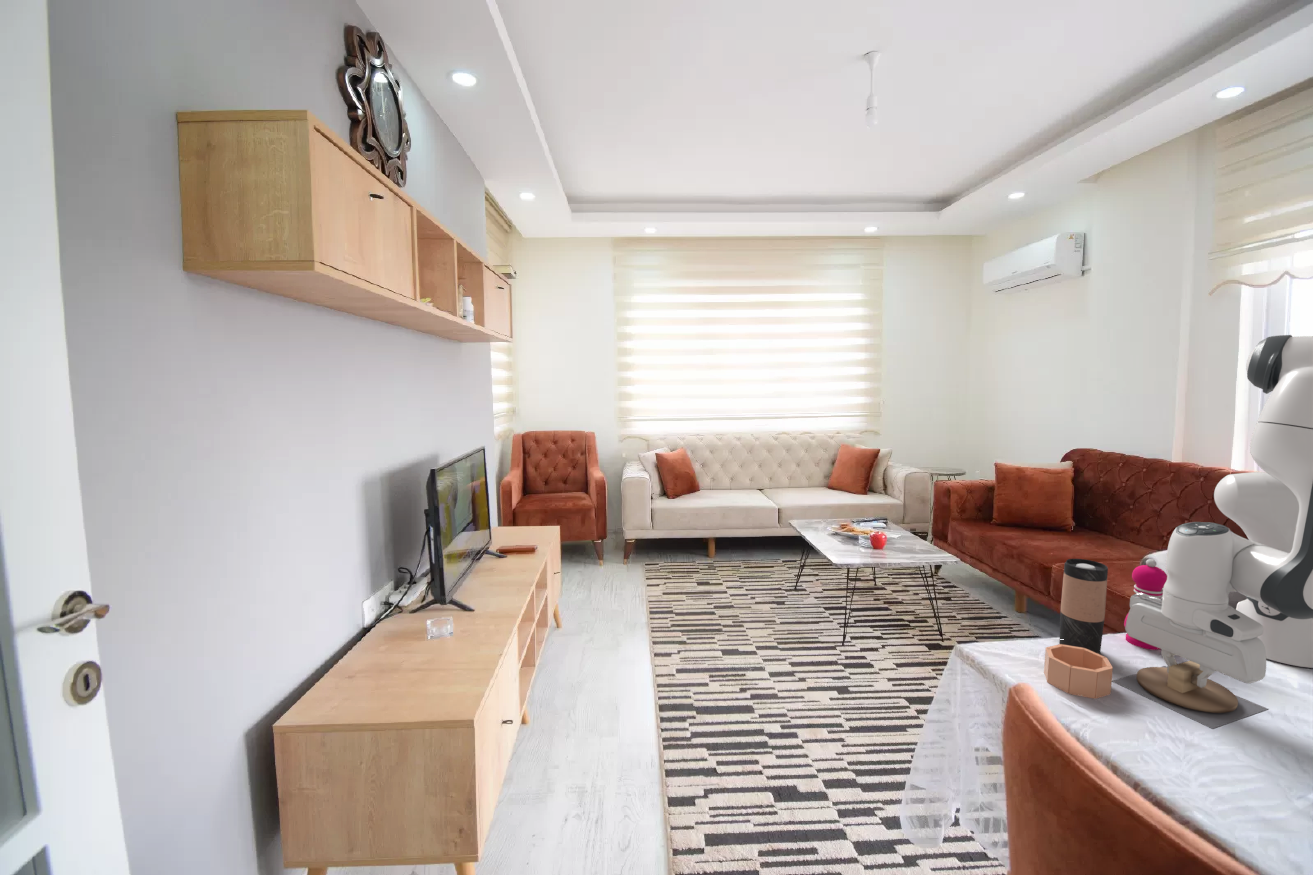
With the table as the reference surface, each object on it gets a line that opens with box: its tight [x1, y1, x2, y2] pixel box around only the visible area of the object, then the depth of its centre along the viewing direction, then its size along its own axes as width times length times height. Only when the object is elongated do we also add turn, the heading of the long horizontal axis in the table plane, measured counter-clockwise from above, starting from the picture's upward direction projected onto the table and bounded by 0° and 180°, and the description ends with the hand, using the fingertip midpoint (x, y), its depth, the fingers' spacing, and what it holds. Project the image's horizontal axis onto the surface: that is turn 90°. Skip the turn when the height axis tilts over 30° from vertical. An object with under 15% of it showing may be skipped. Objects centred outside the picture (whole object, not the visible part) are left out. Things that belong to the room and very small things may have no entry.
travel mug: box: [1058, 558, 1109, 655], centre depth 124 cm, size 8×8×20 cm
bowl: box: [1043, 644, 1114, 700], centre depth 112 cm, size 10×10×6 cm
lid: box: [1136, 660, 1238, 713], centre depth 108 cm, size 14×14×5 cm
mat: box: [1112, 665, 1269, 730], centre depth 108 cm, size 16×16×1 cm
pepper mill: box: [1123, 558, 1167, 651], centre depth 127 cm, size 7×7×20 cm
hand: (1186, 679), depth 108 cm, fingers closed on lid, 2 cm apart
